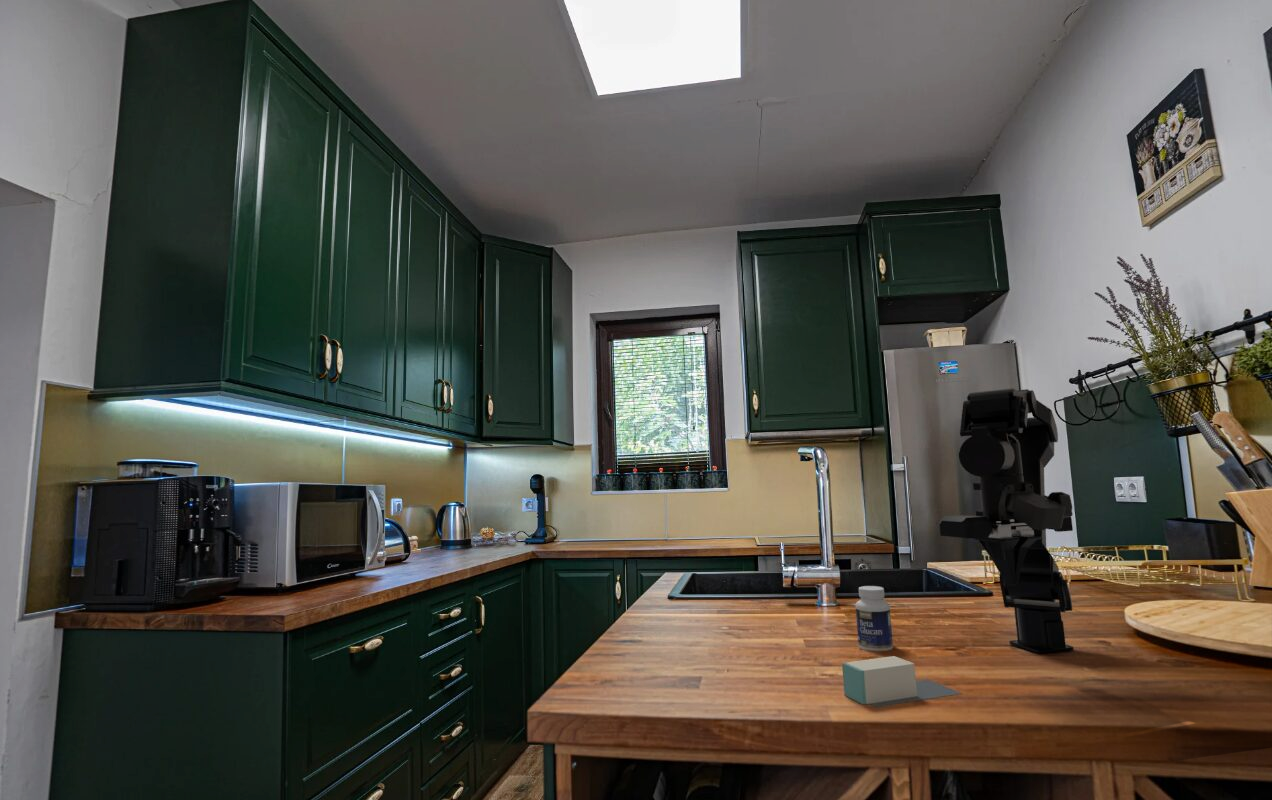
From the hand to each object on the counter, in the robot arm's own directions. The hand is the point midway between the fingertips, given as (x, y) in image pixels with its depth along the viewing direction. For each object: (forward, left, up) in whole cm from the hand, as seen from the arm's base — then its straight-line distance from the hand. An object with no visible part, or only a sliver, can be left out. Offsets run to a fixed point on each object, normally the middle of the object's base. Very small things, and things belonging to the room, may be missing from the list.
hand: (1011, 585), depth 95 cm
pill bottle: (-18, -12, -12) cm, 25 cm away
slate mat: (+4, -21, -12) cm, 24 cm away
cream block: (+4, -20, -10) cm, 22 cm away
